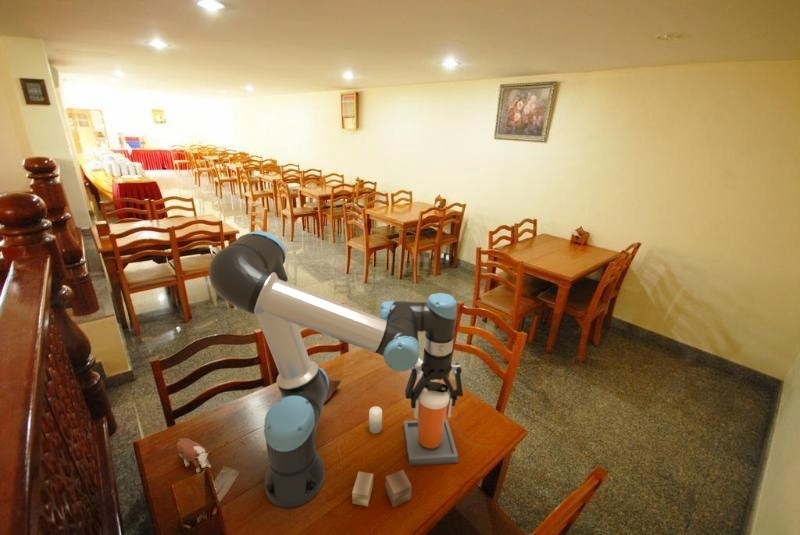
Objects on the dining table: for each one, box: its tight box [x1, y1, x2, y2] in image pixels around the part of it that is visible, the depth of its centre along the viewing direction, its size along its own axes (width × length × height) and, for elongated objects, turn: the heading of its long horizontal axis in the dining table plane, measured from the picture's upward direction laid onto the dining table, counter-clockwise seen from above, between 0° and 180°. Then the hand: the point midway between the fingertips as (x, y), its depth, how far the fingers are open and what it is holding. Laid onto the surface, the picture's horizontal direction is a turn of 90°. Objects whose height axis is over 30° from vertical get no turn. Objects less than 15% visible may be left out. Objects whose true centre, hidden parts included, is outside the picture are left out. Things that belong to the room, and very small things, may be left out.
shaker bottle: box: [417, 380, 450, 448], centre depth 102 cm, size 9×9×20 cm
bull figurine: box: [176, 437, 213, 474], centre depth 95 cm, size 4×13×8 cm, turn 58°
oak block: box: [351, 470, 374, 507], centre depth 91 cm, size 4×6×4 cm, turn 171°
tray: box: [403, 418, 459, 467], centre depth 106 cm, size 14×14×2 cm
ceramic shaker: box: [368, 405, 383, 434], centre depth 110 cm, size 4×4×7 cm
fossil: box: [325, 377, 342, 402], centre depth 121 cm, size 13×8×10 cm
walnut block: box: [384, 469, 413, 508], centre depth 90 cm, size 5×5×5 cm
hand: (431, 414), depth 102 cm, fingers closed on shaker bottle, 9 cm apart
